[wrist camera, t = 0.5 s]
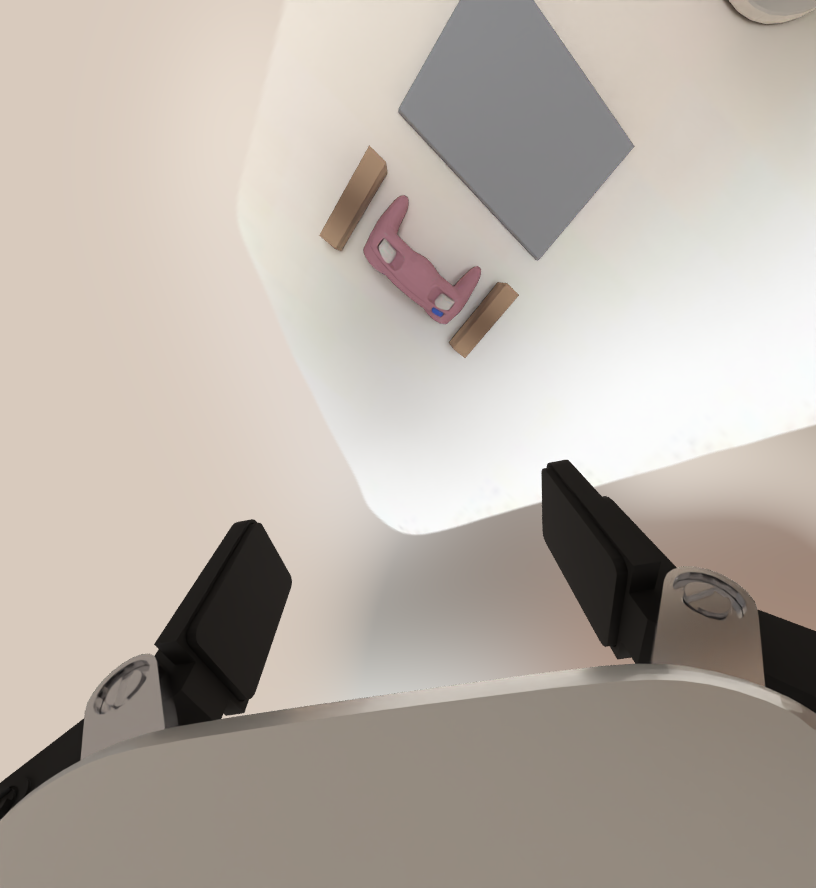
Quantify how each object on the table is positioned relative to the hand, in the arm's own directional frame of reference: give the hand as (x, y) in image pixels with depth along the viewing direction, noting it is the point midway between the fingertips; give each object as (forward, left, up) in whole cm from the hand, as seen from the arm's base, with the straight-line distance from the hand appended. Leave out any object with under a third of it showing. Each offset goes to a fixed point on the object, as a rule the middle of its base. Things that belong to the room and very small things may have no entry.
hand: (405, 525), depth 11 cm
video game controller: (-8, -3, -26) cm, 27 cm away
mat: (-19, -3, -26) cm, 32 cm away
